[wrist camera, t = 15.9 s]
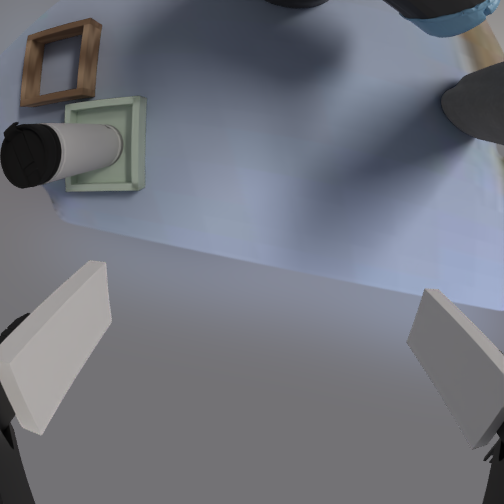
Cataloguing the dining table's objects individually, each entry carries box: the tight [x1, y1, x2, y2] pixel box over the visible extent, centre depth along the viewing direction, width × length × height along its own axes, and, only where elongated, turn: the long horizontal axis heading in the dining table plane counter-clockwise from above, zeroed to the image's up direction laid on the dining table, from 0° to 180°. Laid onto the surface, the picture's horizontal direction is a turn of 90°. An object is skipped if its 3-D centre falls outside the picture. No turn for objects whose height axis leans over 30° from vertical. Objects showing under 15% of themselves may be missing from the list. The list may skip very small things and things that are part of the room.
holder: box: [20, 18, 102, 107], centre depth 36 cm, size 12×12×4 cm
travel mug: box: [0, 122, 123, 188], centre depth 32 cm, size 6×7×20 cm
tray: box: [65, 96, 147, 192], centre depth 41 cm, size 13×12×3 cm
